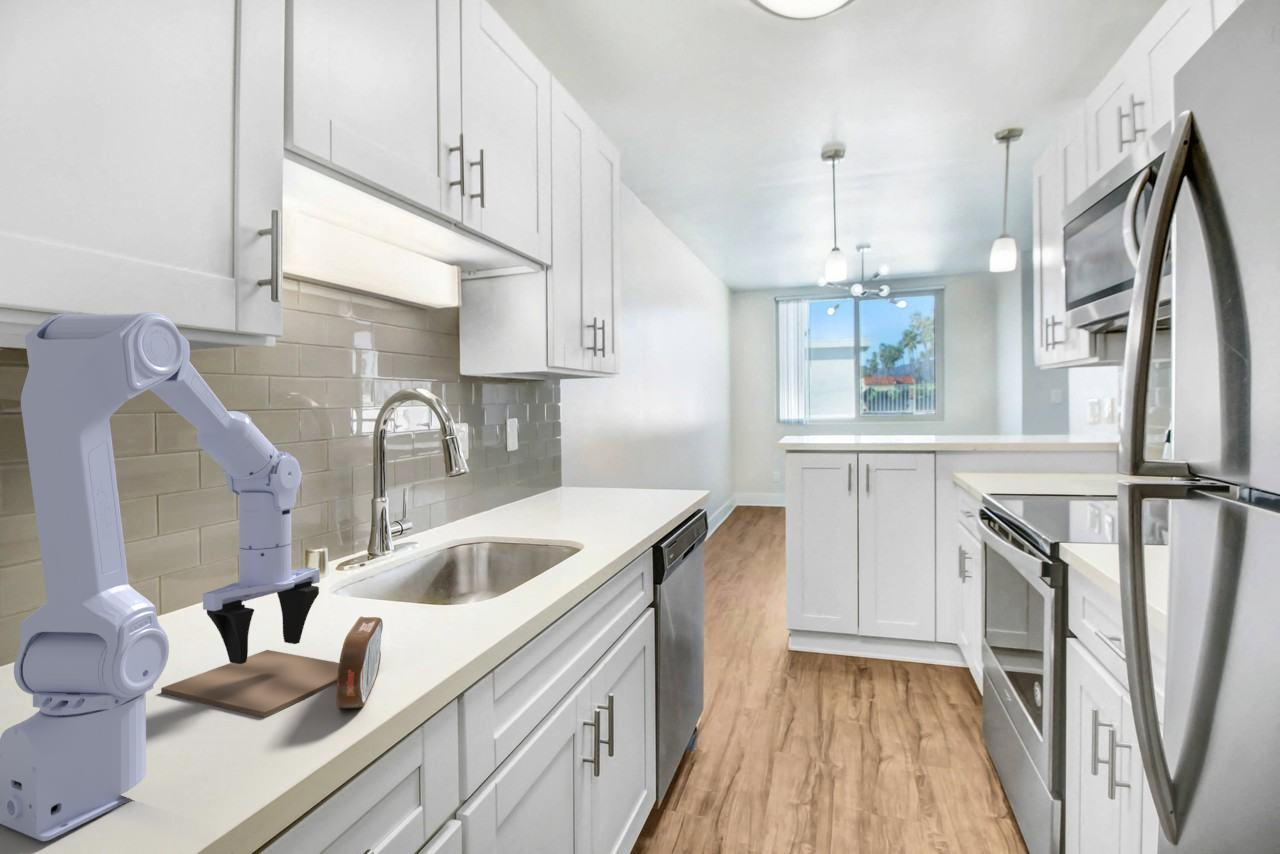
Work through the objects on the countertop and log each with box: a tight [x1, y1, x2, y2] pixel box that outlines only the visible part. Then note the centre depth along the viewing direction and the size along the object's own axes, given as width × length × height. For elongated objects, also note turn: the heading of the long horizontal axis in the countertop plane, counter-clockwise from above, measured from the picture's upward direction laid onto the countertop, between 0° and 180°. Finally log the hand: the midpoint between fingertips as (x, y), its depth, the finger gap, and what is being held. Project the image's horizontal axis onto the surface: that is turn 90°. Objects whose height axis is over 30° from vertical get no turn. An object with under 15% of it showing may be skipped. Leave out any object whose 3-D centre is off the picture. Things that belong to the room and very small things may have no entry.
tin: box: [335, 616, 384, 711], centre depth 76 cm, size 15×3×8 cm, turn 14°
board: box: [160, 649, 339, 718], centre depth 79 cm, size 14×18×1 cm
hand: (266, 652), depth 79 cm, fingers open, 7 cm apart
